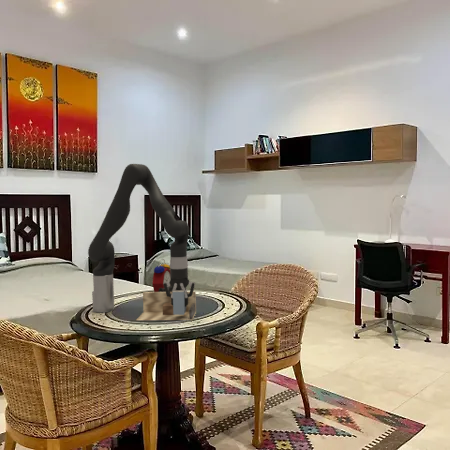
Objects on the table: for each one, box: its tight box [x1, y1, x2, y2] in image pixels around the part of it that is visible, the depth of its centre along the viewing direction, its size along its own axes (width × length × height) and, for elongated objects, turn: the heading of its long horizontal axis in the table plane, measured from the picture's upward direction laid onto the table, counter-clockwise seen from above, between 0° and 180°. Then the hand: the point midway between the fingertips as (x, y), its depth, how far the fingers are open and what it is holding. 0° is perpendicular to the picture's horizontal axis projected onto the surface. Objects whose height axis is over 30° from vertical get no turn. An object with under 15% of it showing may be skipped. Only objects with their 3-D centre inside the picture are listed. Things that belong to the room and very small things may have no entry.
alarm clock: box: [149, 258, 170, 292], centre depth 247 cm, size 15×9×20 cm, turn 167°
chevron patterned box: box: [135, 291, 197, 323], centre depth 197 cm, size 24×15×10 cm, turn 87°
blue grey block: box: [173, 290, 186, 315], centre depth 192 cm, size 5×7×10 cm, turn 176°
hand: (180, 306), depth 193 cm, fingers closed on blue grey block, 4 cm apart
